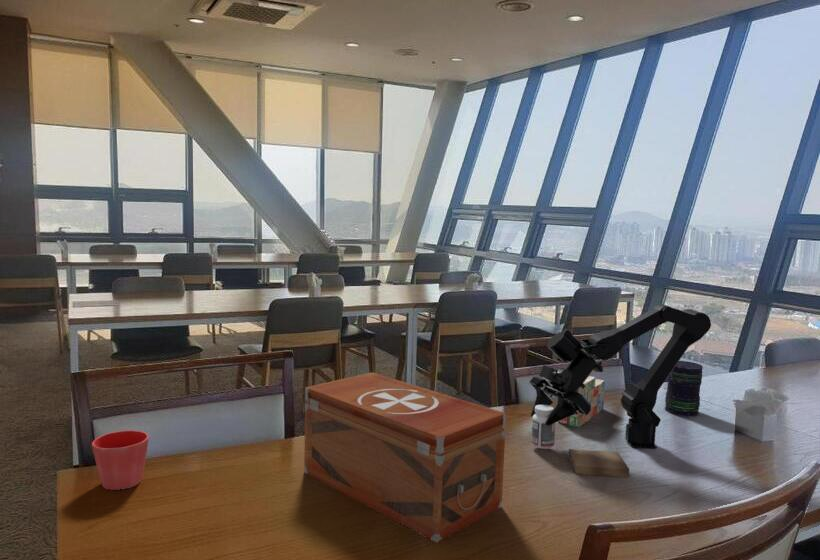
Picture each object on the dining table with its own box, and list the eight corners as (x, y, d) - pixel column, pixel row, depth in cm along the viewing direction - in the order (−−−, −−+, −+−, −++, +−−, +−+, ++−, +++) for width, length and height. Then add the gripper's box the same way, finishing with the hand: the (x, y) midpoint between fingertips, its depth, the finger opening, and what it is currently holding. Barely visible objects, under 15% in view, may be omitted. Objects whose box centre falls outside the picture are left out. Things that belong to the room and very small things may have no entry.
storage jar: (668, 404, 199) (672, 359, 197) (701, 411, 193) (706, 364, 191) (660, 412, 191) (664, 364, 189) (695, 419, 185) (699, 370, 183)
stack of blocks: (583, 405, 195) (586, 367, 194) (603, 409, 192) (606, 371, 190) (557, 423, 178) (560, 381, 177) (578, 428, 174) (581, 385, 173)
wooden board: (617, 459, 152) (618, 452, 152) (628, 477, 143) (629, 468, 142) (568, 456, 153) (568, 449, 153) (575, 473, 143) (576, 465, 143)
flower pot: (94, 476, 135) (93, 433, 133) (149, 469, 139) (148, 427, 138) (91, 497, 125) (89, 451, 124) (149, 489, 129) (149, 444, 128)
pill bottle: (556, 443, 159) (558, 406, 158) (551, 451, 154) (553, 412, 153) (534, 439, 161) (535, 402, 160) (528, 446, 156) (530, 408, 155)
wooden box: (369, 449, 154) (371, 371, 152) (503, 507, 126) (508, 413, 124) (302, 472, 140) (303, 387, 137) (437, 544, 112) (441, 438, 109)
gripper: (536, 346, 165) (500, 391, 162) (584, 362, 148) (545, 413, 145) (558, 372, 169) (524, 416, 166) (607, 391, 153) (570, 440, 149)
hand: (539, 420), depth 156 cm, fingers closed on pill bottle, 6 cm apart
